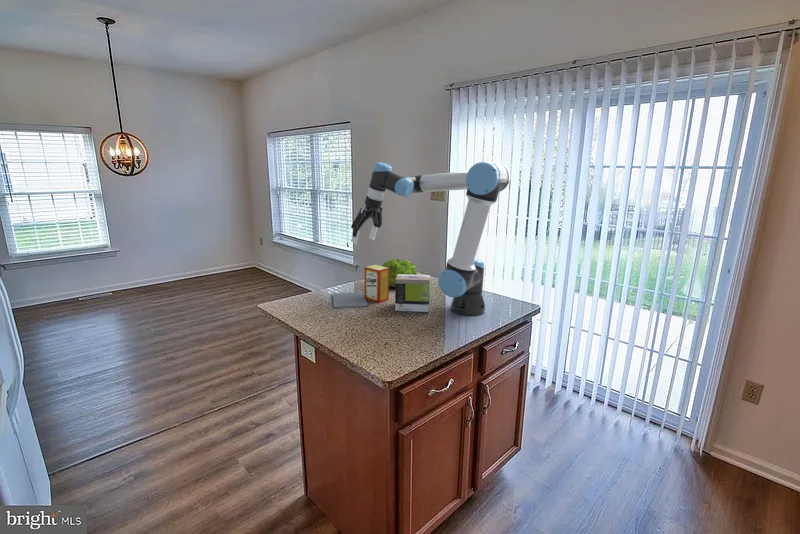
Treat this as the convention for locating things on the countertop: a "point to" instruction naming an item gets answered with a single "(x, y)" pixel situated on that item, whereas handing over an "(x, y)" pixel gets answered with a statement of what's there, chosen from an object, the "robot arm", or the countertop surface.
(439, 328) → the countertop surface
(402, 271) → the lettuce
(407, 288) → the tea box
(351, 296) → the mat
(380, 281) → the baking soda box
